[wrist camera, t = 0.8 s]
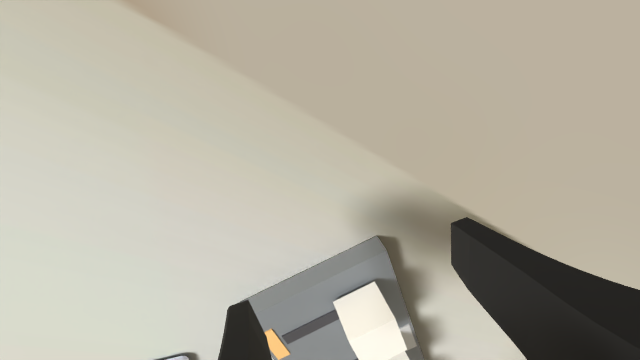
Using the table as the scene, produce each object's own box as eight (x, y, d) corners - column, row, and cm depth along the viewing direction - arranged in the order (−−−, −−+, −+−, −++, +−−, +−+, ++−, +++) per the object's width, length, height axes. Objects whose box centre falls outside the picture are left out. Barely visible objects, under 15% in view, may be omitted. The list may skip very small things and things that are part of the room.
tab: (386, 312, 26) (407, 349, 23) (348, 331, 26) (364, 371, 23) (374, 281, 24) (395, 318, 21) (332, 301, 24) (348, 341, 21)
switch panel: (426, 374, 36) (435, 390, 34) (333, 421, 35) (339, 439, 34) (377, 235, 24) (387, 251, 23) (240, 302, 24) (242, 321, 23)
